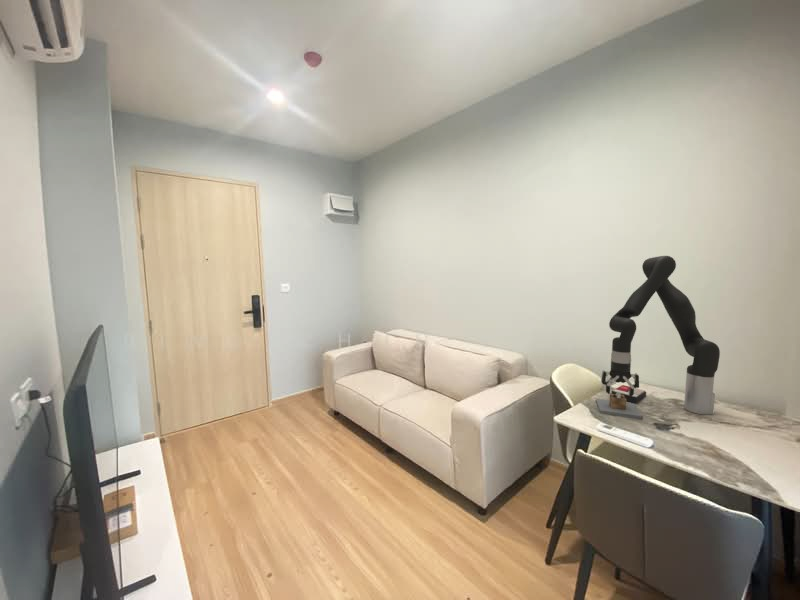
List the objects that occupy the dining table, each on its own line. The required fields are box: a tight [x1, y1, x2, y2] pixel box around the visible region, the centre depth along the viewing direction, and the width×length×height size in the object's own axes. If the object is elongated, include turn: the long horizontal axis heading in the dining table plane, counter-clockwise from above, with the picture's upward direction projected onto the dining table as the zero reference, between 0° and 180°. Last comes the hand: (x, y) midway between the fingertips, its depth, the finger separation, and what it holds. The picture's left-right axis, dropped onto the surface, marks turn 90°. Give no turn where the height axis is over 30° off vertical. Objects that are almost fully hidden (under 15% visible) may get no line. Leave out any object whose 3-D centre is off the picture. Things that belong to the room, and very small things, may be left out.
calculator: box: [610, 384, 647, 405], centre depth 164 cm, size 11×4×15 cm
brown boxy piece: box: [608, 392, 627, 410], centre depth 149 cm, size 6×6×5 cm
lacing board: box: [595, 398, 644, 420], centre depth 150 cm, size 16×14×2 cm
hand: (619, 394), depth 149 cm, fingers open, 8 cm apart
